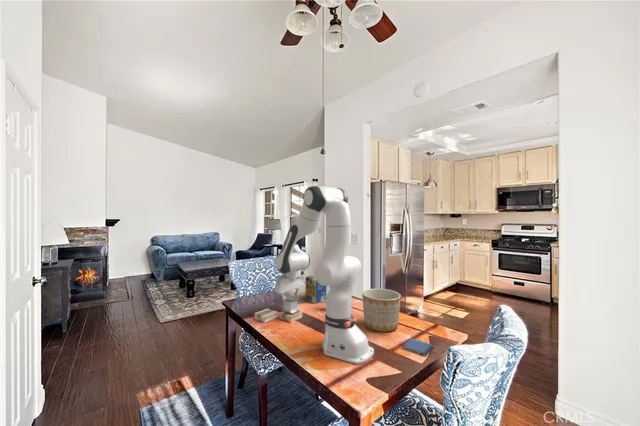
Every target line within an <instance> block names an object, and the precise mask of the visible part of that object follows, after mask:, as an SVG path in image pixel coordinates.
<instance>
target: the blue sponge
mask: <svg viewBox="0 0 640 426" xmlns="http://www.w3.org/2000/svg"><path fill="white" fill-rule="evenodd" d="M401 348H402V350H405V351H407V352H411V353H413V354H414V353H415V354H417V355H421V354H422V355H421V356H423V357H426V356H428V354H429V353H430V351H432V349H434V348H435V347H434V344H431V343H428V342H427V341H426V342H425V341H422V340H420V339H415V338H411V337H410V339H408V340H407V342H405V343H404V344H403V345H402V346H401ZM425 355H426V356H425Z"/></svg>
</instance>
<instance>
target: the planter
mask: <svg viewBox="0 0 640 426" xmlns="http://www.w3.org/2000/svg"><path fill="white" fill-rule="evenodd" d="M361 295H362V296H361V297H362V308H363V309H362V311H363V322H364V323H363V324H365V326H366V328H368V329H370V330H371V331H375V332H380V333H385V332H386V333H387V332H393V331H395V330H397V329H398V327H399V319H400V308H401V296H402V295H401V294H400V293H399V292H397V291H395V290H392V289H387V288H369V289H365V290H364V291H362V293H361Z"/></svg>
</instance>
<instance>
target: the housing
mask: <svg viewBox="0 0 640 426" xmlns="http://www.w3.org/2000/svg"><path fill="white" fill-rule="evenodd" d="M285 297H286V300H283V302H284V304H283V307H284V308H283V309H282V311H281V312H284V313H287V314H290V315H295V314H297V313H299V311H300V310H298V301H300V298H299V297H297V296H294V295H286V296H285Z"/></svg>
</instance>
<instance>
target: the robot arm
mask: <svg viewBox="0 0 640 426" xmlns="http://www.w3.org/2000/svg"><path fill="white" fill-rule="evenodd" d="M302 197H303V198H302V199H303V202H302V204H301V208H300V211H299V215H298V218H297V219H296V221H295V222H294V223H293V225H292V226H290V227H289V230H288V232H287V234H286V236H285V239H284V242H283V244H282V247H281V249H280V251H279V253H278V255H277V257H276V259H275V264H274V265H275V268H276V270H277V271H278V272H280V274H282V275H278V276H277V278H276V280H275V285H274V292H275V293H276V294H279V295H280V296H281V300H282V301H284V300H286V296H285V293H287V292H290V291H294V290H295V292H293V294H294V295H293V297H298V296H299V293H300V289H301V288H304V287H305V286H306V270H308V269H309V268H310V265H311V256H310V254H308V253H307V252H305V251H303V250H302V249H300V246H299V245H298V244H297V242H298V241H300V240H301V239H302V238H305V237H307V236H309V235H312V234H314V233H315V232H317V230H318V229H319V227H320V225H321V222H322V217H323V214H324V215H325V243H324V245H325V246H324V247H323V248H324V249H323V253H322V255H321V258H320V260H319V262H318V263H317V264H316V265H315V267H314V271H313V272H314V274H313V275H315V279H316V281H317V282H318V283H319V284H320V285H322V286H332V287H331V289H330V291H329V292H328V294H327V296H326V303H325V313H324V323H325V327H324V328H325V331H324V336H323V337H324V338H323V341H322V345H321V347H322V350H323V354H324V355H325V356H327V357H331V358H334V359H338V360H342V361H344V362H348V363H352V364H356V365H359V364H363V363H366V362H367V361H368V360H370V359H371V358H372V357H373V356H374V354H375V349H374V348H373V347H372V346H370V345H369V341H368V337H367V336H366V334H365V333H364V332H363V331H362V330H361V329H360V328H359V326H357V325H356V322H357V317H355V318H354V316H353V314H352V304H353V303H352V301H353V299H352V297H353V294H354V293H353V292H354V289H355V285H356V281H357V279H358V277H359V276H360V274H361V272H362V263H361V261H360V259H358V258H357V257H356V256H352V255H346V254H347V252H348V249H349V247H350V246H351V244H352V219H351V217H352V216H351V210H350V207H349V204H348V201H349V196H348V193H347V191H346V190H344V189H342V188H340V187H332V186H326V185H325V186H324V185H323V186H322V185H319V186H317V185H313V186H308V187H307V188H306V189H305V191H304V193H303V196H302Z"/></svg>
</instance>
